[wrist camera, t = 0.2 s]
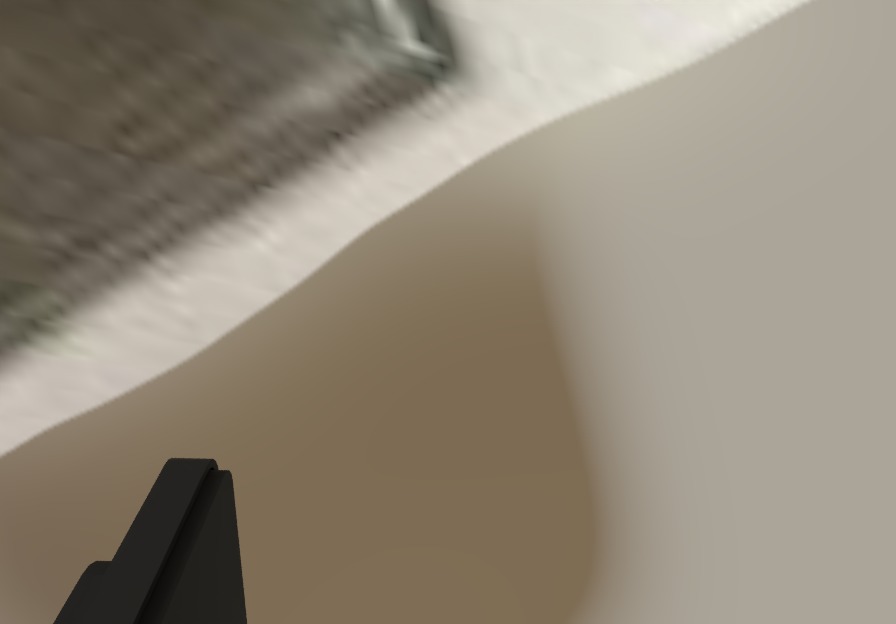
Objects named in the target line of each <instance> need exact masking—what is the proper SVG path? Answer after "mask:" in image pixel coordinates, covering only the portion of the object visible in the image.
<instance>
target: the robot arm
mask: <svg viewBox="0 0 896 624" xmlns="http://www.w3.org/2000/svg"><path fill="white" fill-rule="evenodd" d="M53 624H247V618H246V608H245V598H244V588H243V578H242V569H241V558H240V548H239V538H238V529H237V519H236V508H235V499H234V489H233V479H232V475H231V473H230V471H229V470H218V465H217V463H216V461H215V460H214V459H191V458H171V459H169V460H168V461H167V462H166V464H165V465H164V467H163V469H162V471H161V473H160V474H159V476H158V478H157V480H156V482H155V484H154V485H153V487H152V489H151V491H150V493H149V494H148V496H147V498H146V500H145V502H144V504H143V505H142V507H141V509H140V511H139V512H138V514H137V516H136V518H135V520H134V521H133V523H132V525H131V527H130V529H129V531H128V532H127V534H126V536H125V538H124V540H123V541H122V543H121V545H120V547H119V549H118V550H117V552H116V554H115V556H114V558H113V559H112V561H95V562H94V563H92V564H90V565H89V566H88V568H87V569H86V570H85V571H84V573H83V574H82V576H81V577H80V579H79V581H78V582H77V584H76V586H75V588H74V590H73V591H72V593H71V594H70V596H69V598H68V599H67V601H66V603H65V605H64V606H63V608H62V610H61V611H60V613H59V615H58V616H57V618H56V620H55V622H54V623H53Z"/></svg>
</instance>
